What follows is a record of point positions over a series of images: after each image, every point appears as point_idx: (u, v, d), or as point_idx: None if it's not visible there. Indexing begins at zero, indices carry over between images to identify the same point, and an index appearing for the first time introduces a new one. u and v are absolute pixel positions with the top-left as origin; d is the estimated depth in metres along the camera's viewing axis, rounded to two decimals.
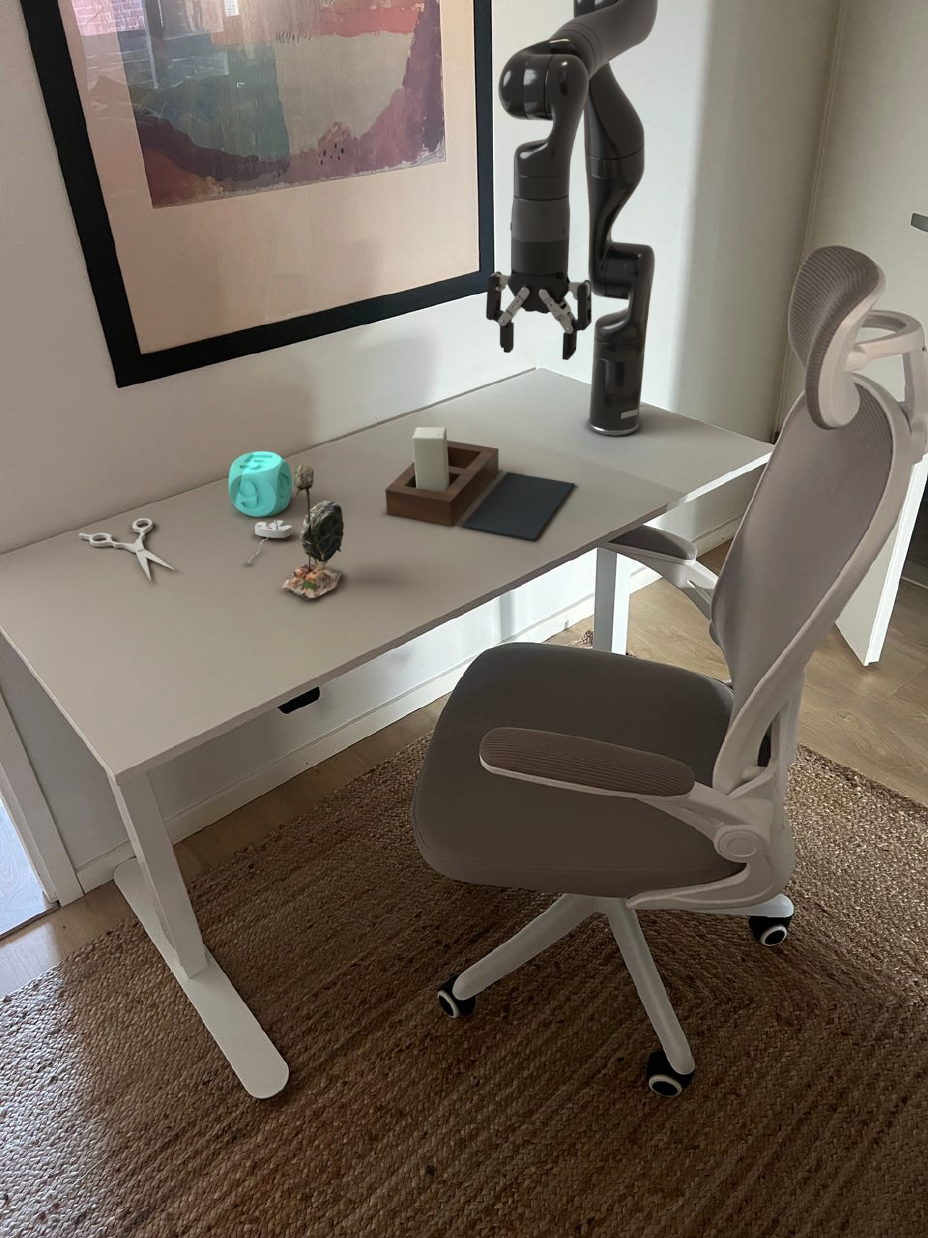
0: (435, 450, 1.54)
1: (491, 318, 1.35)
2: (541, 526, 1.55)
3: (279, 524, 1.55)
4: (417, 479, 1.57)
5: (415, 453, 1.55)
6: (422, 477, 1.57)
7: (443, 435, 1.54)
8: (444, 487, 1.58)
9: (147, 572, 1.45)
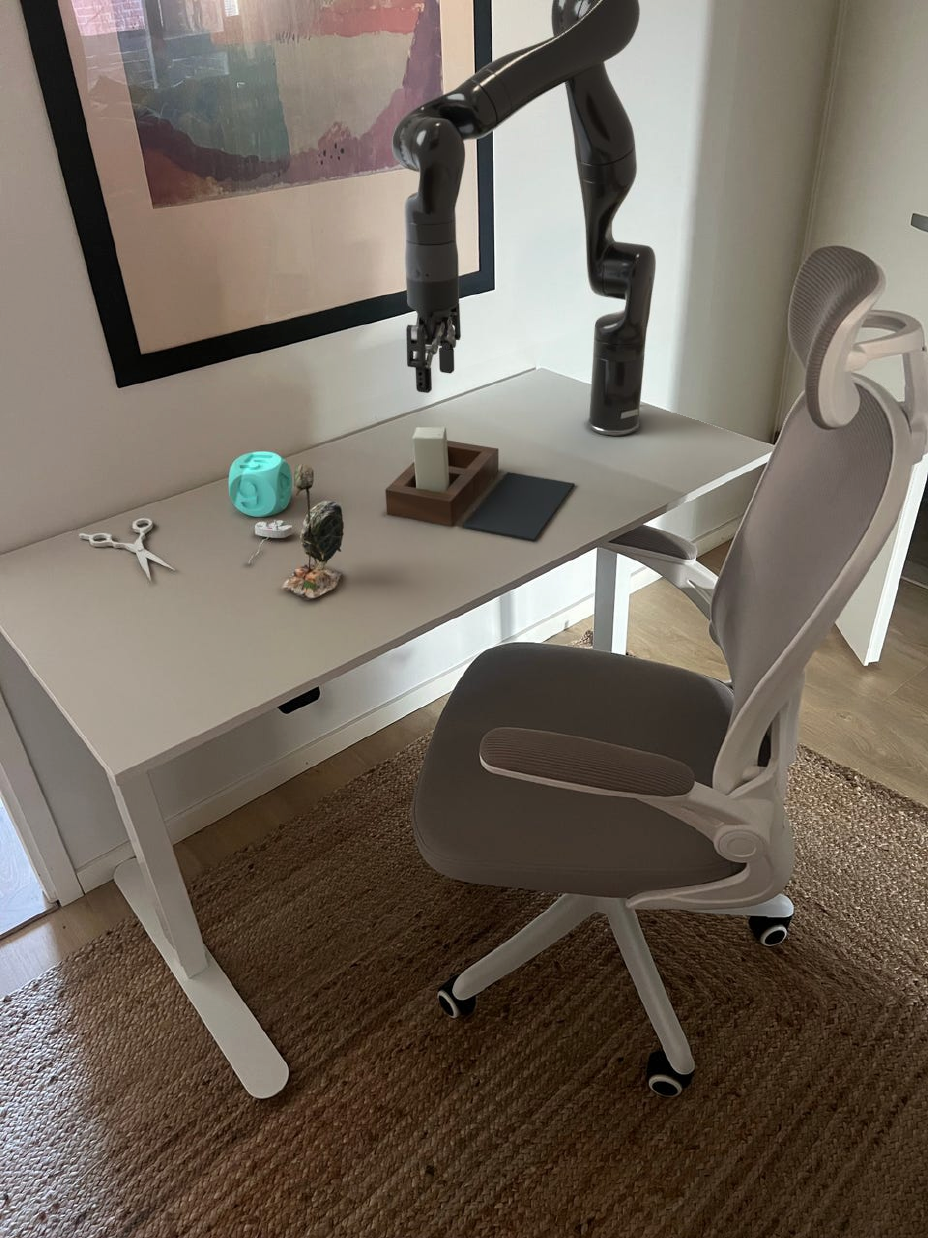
0: (435, 450, 1.54)
1: None
2: (541, 526, 1.55)
3: (279, 524, 1.55)
4: (417, 479, 1.57)
5: (415, 453, 1.55)
6: (422, 477, 1.57)
7: (443, 435, 1.54)
8: (444, 487, 1.58)
9: (147, 572, 1.45)
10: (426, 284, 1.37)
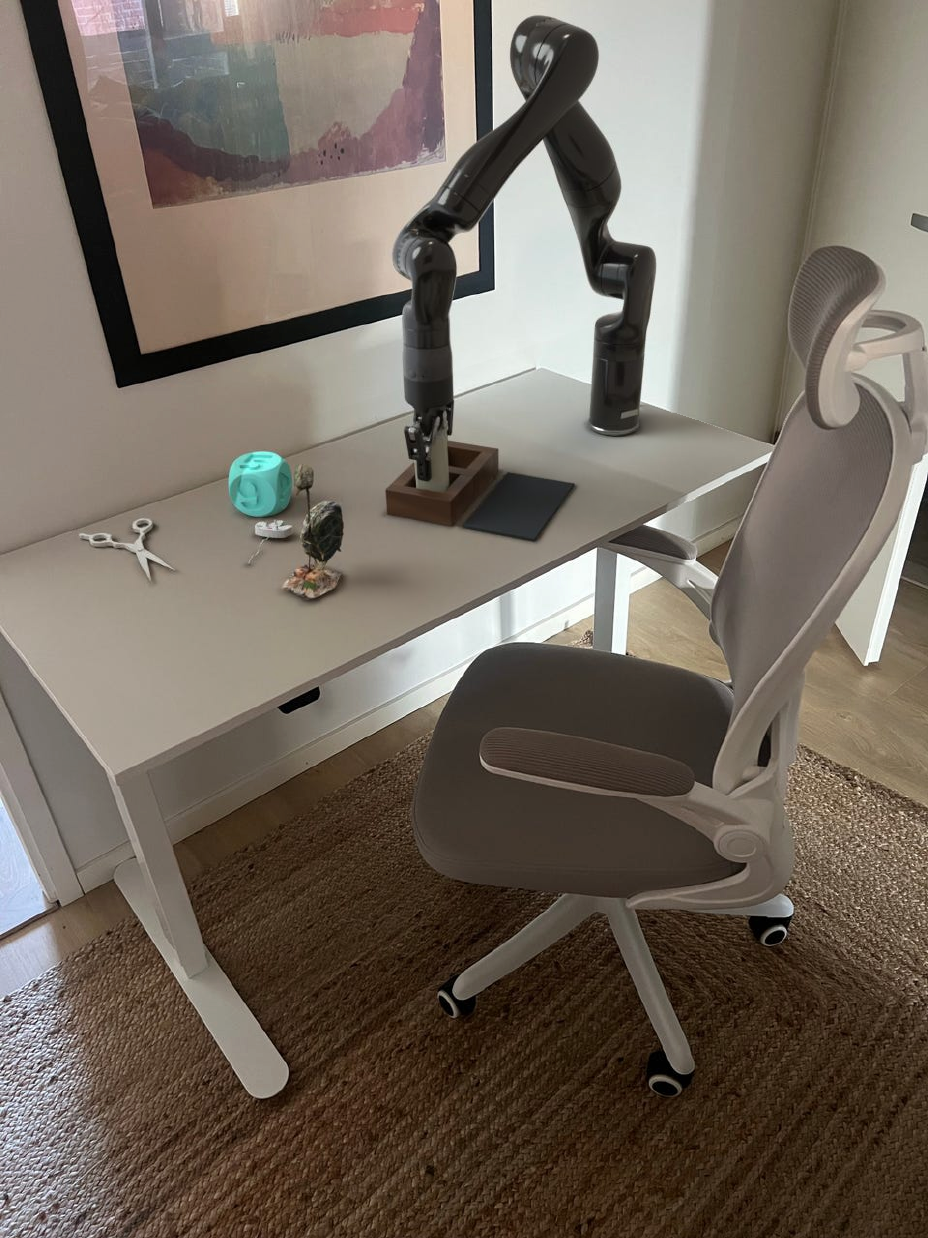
0: (436, 450, 1.54)
1: None
2: (541, 526, 1.55)
3: (279, 524, 1.55)
4: (417, 479, 1.57)
5: None
6: None
7: (443, 435, 1.54)
8: (444, 487, 1.58)
9: (147, 572, 1.45)
10: (422, 384, 1.47)
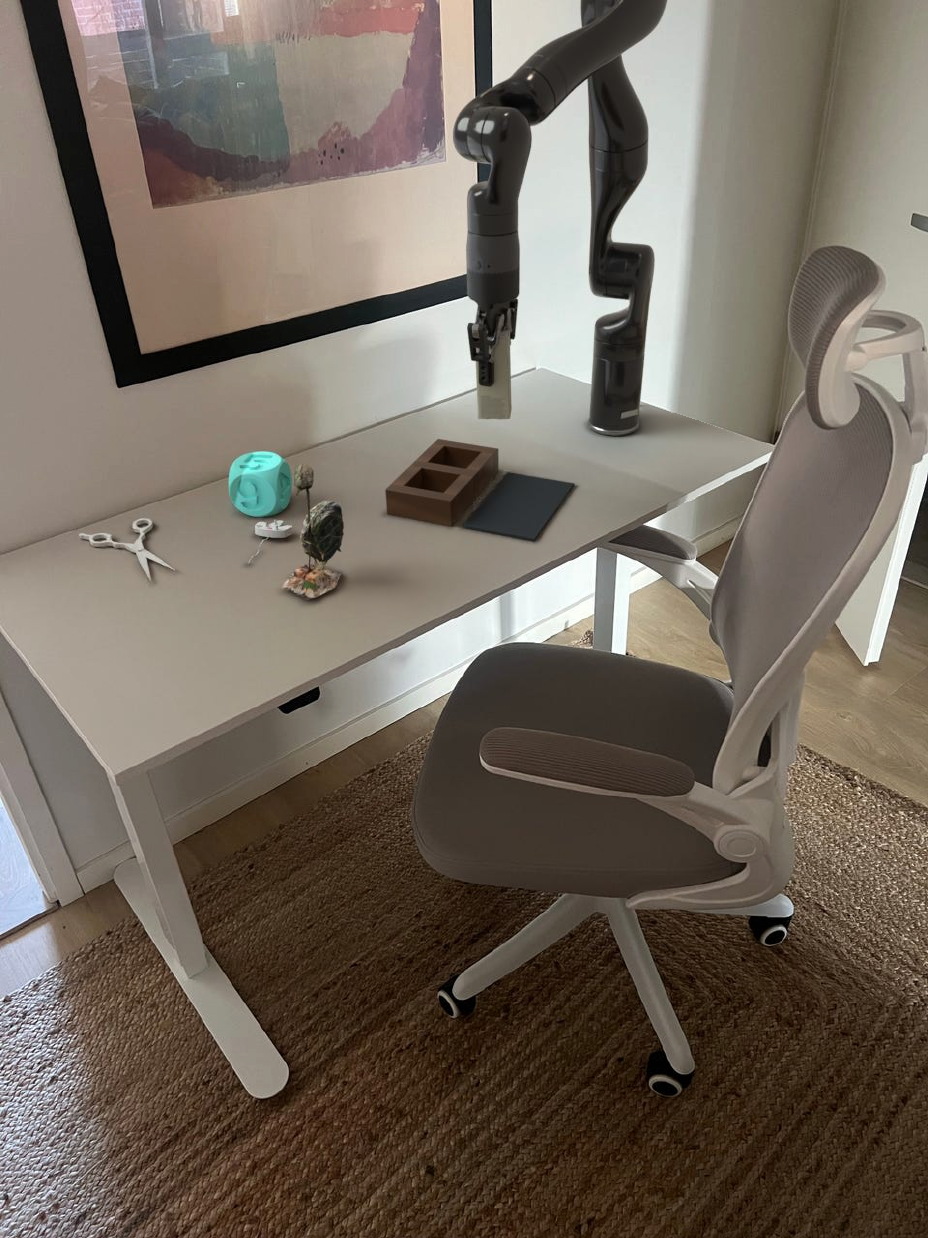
0: (499, 352, 1.44)
1: None
2: (541, 526, 1.55)
3: (279, 524, 1.55)
4: (478, 384, 1.47)
5: None
6: None
7: (507, 335, 1.44)
8: (506, 394, 1.48)
9: (147, 572, 1.45)
10: (487, 275, 1.36)
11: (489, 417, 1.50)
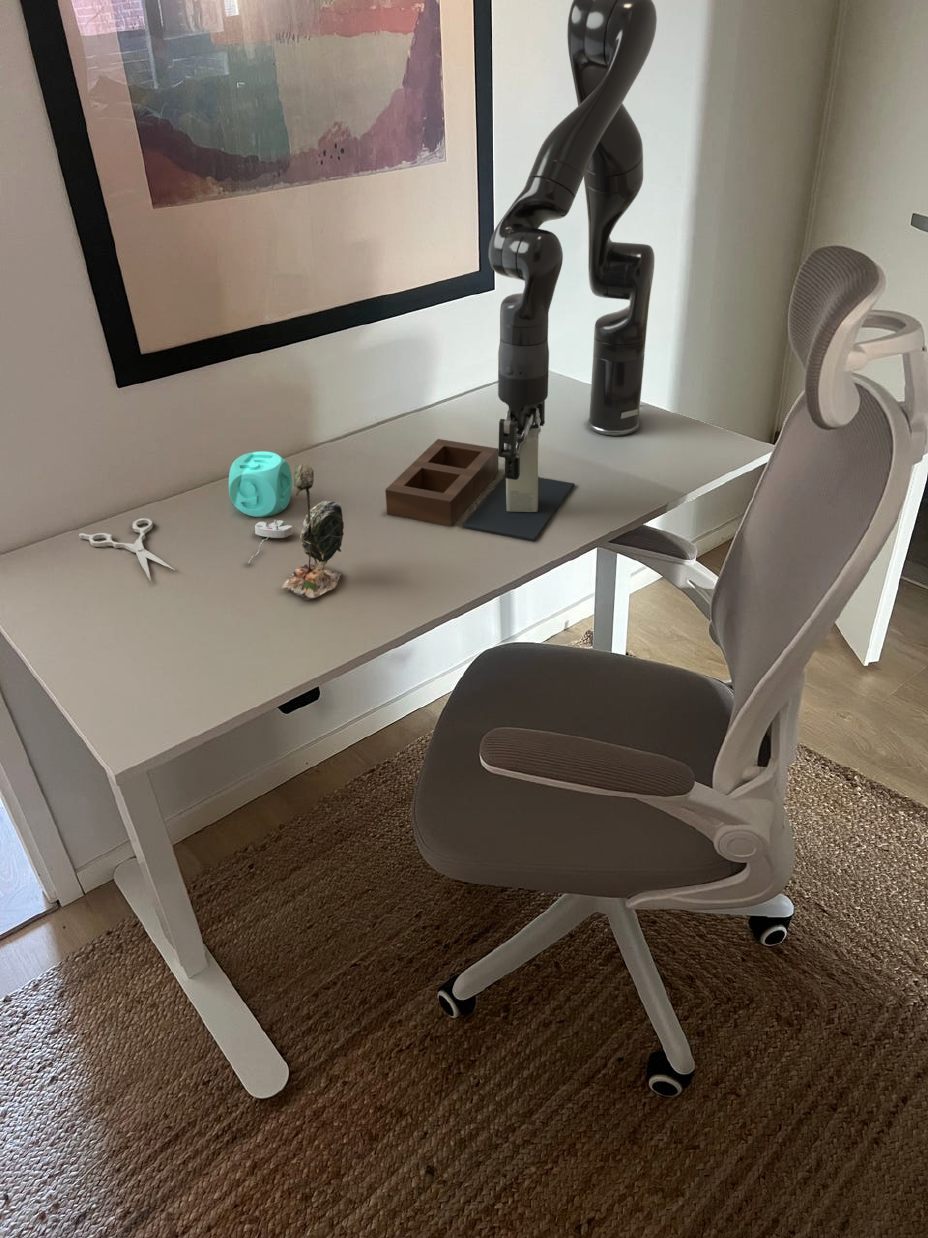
0: (528, 452, 1.52)
1: None
2: (541, 526, 1.55)
3: (279, 524, 1.55)
4: (508, 480, 1.55)
5: None
6: None
7: (536, 436, 1.52)
8: (534, 489, 1.56)
9: (147, 572, 1.45)
10: (519, 381, 1.44)
11: (517, 510, 1.58)
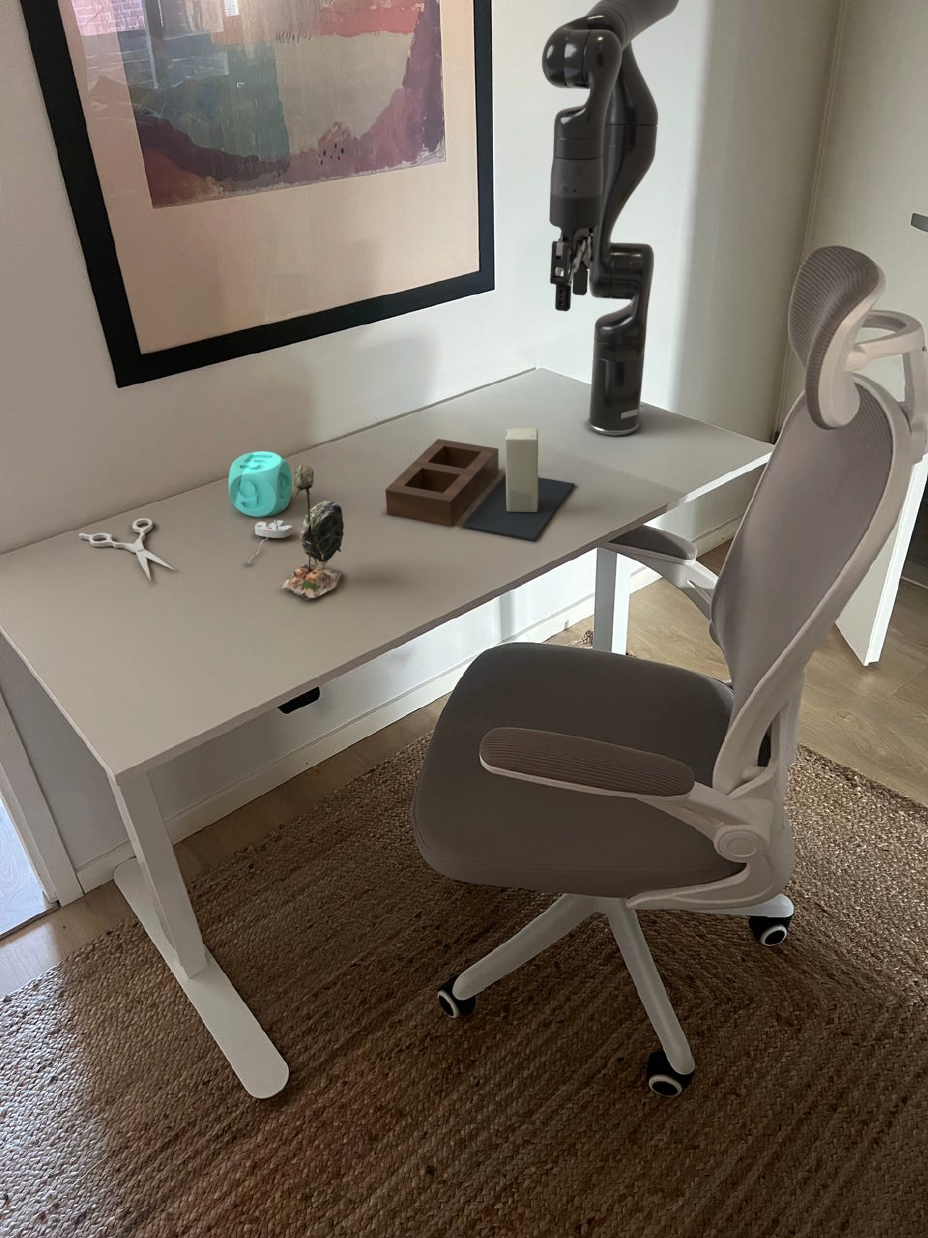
0: (528, 452, 1.52)
1: None
2: (541, 526, 1.55)
3: (279, 524, 1.55)
4: (508, 480, 1.55)
5: (507, 454, 1.53)
6: (513, 479, 1.55)
7: (536, 436, 1.52)
8: (534, 489, 1.56)
9: (147, 572, 1.45)
10: (573, 200, 1.40)
11: (517, 510, 1.58)
